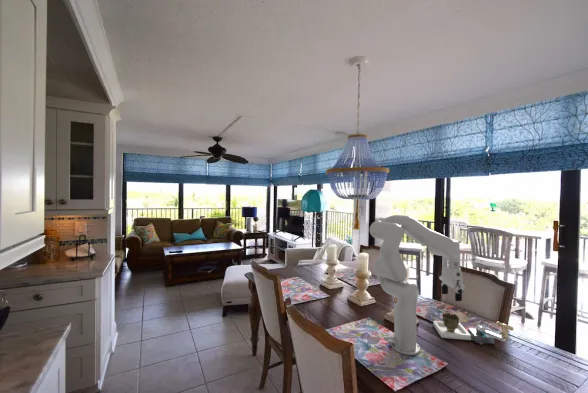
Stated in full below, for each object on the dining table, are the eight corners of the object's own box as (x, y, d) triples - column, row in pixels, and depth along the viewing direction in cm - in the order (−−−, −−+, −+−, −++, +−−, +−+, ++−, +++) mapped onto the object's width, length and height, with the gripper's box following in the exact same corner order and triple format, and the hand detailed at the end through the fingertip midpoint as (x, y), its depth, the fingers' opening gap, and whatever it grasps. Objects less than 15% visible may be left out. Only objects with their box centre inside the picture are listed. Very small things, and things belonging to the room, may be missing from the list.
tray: (441, 337, 132) (441, 332, 132) (433, 325, 144) (433, 320, 144) (470, 340, 129) (470, 335, 129) (459, 327, 142) (459, 322, 142)
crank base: (475, 342, 127) (475, 335, 127) (468, 333, 135) (468, 327, 135) (494, 344, 126) (494, 337, 126) (485, 335, 133) (485, 329, 133)
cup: (461, 335, 132) (461, 319, 132) (445, 334, 134) (445, 318, 134) (455, 328, 140) (455, 313, 140) (440, 327, 141) (440, 312, 141)
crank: (474, 330, 131) (474, 314, 131) (478, 328, 133) (478, 313, 133) (511, 345, 118) (511, 328, 118) (515, 343, 120) (515, 326, 120)
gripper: (471, 268, 129) (471, 303, 128) (446, 259, 146) (446, 291, 146) (457, 268, 128) (457, 304, 127) (433, 260, 145) (433, 291, 145)
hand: (451, 297), depth 137 cm, fingers open, 9 cm apart
